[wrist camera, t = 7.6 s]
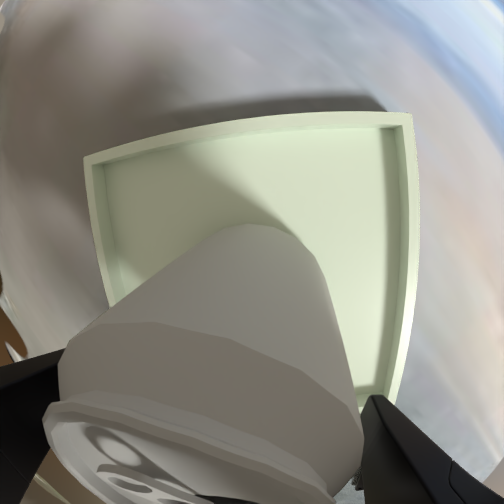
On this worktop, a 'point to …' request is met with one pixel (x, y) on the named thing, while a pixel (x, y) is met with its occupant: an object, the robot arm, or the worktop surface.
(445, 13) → the worktop surface
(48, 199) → the worktop surface
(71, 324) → the worktop surface
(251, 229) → the can
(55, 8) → the worktop surface
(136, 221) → the tray
